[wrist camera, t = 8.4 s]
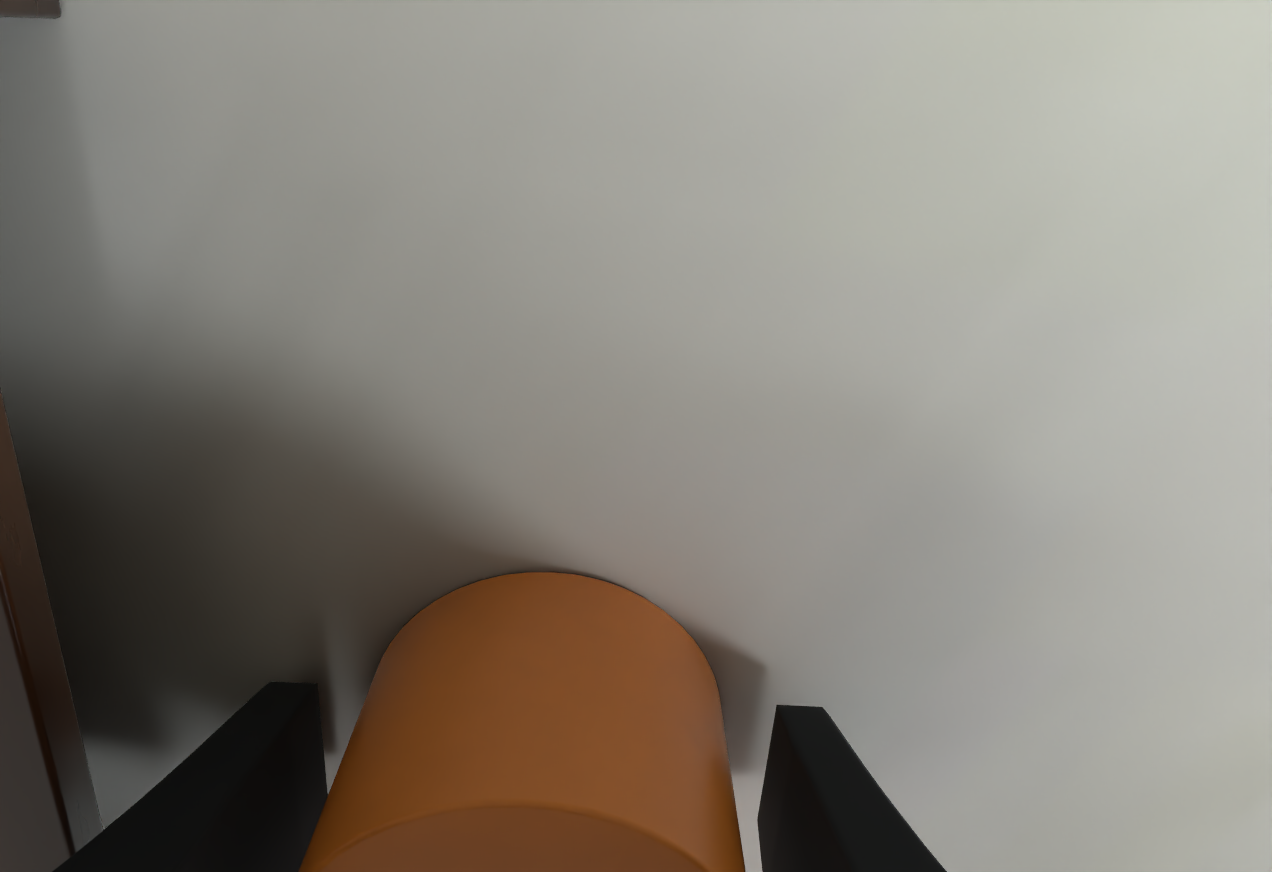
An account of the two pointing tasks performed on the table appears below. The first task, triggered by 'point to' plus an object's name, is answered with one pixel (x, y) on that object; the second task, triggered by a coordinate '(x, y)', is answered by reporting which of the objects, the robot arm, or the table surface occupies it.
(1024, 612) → the table surface
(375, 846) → the orange tape
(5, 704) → the brown rectangular block
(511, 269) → the table surface
